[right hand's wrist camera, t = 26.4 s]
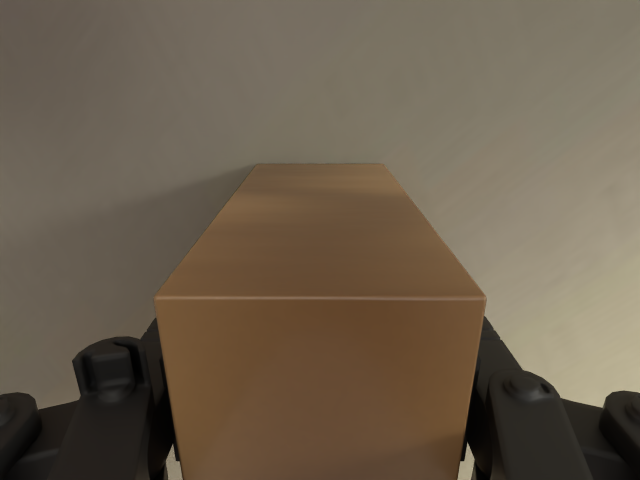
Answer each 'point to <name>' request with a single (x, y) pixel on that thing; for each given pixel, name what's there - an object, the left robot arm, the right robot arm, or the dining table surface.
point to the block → (320, 334)
